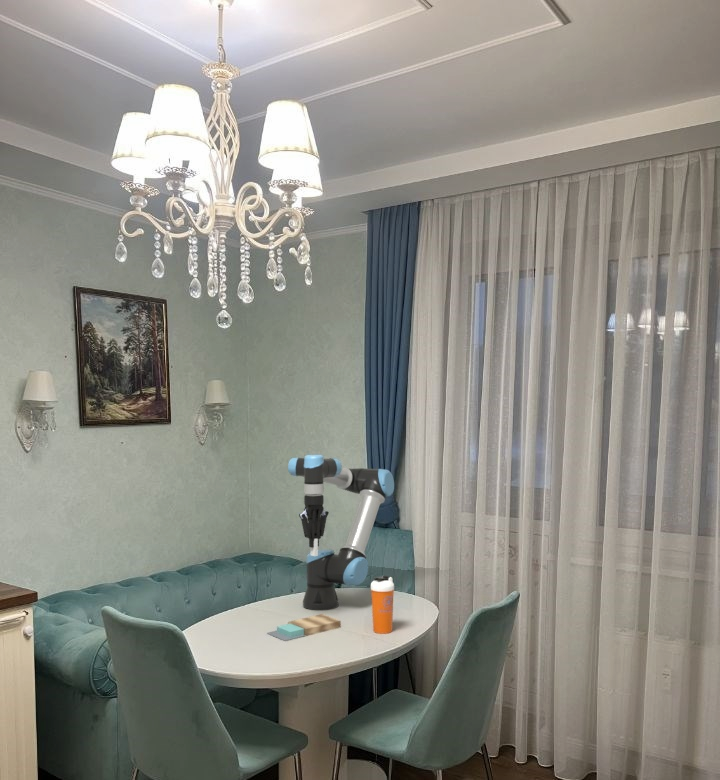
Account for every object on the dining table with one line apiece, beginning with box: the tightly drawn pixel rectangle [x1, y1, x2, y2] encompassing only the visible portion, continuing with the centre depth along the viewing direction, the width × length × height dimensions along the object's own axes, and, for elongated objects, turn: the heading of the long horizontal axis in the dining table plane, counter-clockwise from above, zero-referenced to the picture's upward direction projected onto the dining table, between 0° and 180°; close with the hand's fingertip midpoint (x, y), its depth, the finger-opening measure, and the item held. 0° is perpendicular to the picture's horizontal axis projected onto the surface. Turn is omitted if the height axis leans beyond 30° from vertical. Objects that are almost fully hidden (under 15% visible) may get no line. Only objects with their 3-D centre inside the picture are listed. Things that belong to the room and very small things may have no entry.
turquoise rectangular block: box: [276, 623, 304, 638], centre depth 263 cm, size 6×9×2 cm, turn 40°
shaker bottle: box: [370, 574, 395, 635], centre depth 267 cm, size 9×9×20 cm
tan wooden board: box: [287, 614, 342, 637], centre depth 271 cm, size 16×12×2 cm
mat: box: [266, 630, 306, 642], centre depth 262 cm, size 9×12×1 cm
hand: (314, 555), depth 277 cm, fingers closed
